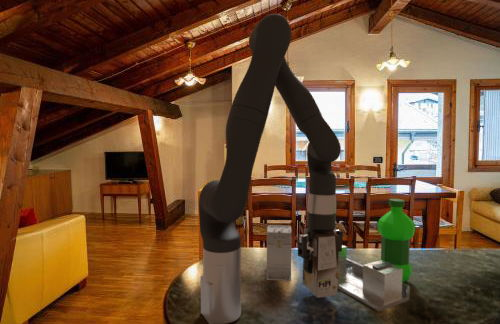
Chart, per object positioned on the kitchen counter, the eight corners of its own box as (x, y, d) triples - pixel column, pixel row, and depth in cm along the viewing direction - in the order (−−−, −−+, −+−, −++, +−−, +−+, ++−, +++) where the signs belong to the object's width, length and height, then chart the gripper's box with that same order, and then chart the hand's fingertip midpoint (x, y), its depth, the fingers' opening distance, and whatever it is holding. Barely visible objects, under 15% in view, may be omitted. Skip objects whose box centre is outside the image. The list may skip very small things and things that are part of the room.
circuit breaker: (290, 263, 114) (290, 220, 113) (291, 280, 100) (291, 233, 98) (268, 262, 114) (268, 220, 113) (266, 279, 100) (266, 232, 99)
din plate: (378, 311, 82) (379, 274, 81) (307, 271, 107) (308, 242, 106) (409, 300, 88) (410, 265, 87) (335, 264, 112) (335, 237, 112)
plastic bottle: (414, 278, 101) (417, 199, 100) (409, 291, 93) (412, 205, 91) (380, 270, 107) (383, 195, 105) (372, 282, 98) (375, 201, 96)
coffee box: (338, 295, 85) (340, 235, 84) (316, 298, 84) (318, 237, 82) (321, 280, 94) (323, 226, 93) (301, 283, 92) (302, 227, 91)
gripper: (332, 205, 94) (330, 261, 95) (291, 209, 87) (290, 269, 88) (351, 210, 87) (349, 270, 89) (309, 215, 81) (307, 280, 82)
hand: (319, 269), depth 88 cm, fingers closed on coffee box, 7 cm apart
